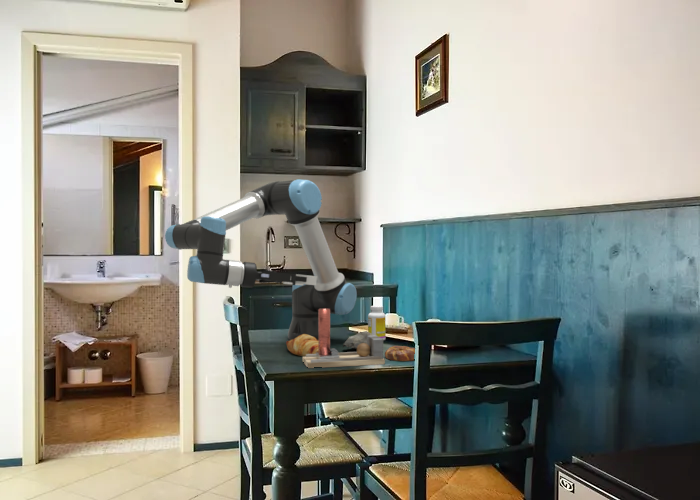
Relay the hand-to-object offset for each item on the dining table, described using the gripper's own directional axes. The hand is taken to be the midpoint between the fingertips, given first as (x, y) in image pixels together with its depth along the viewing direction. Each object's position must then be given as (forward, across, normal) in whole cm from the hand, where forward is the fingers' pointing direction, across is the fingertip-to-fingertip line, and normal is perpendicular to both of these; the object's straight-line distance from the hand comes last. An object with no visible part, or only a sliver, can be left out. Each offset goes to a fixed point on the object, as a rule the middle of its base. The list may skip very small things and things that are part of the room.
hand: (309, 281), depth 185 cm
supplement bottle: (+39, -34, -18) cm, 54 cm away
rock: (+25, -16, -22) cm, 37 cm away
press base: (+13, +1, -24) cm, 28 cm away
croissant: (+6, -17, -24) cm, 30 cm away
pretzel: (+33, 0, -22) cm, 40 cm away
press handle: (+8, 0, -23) cm, 24 cm away
